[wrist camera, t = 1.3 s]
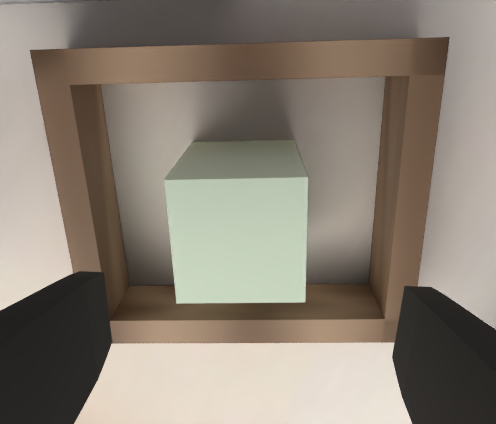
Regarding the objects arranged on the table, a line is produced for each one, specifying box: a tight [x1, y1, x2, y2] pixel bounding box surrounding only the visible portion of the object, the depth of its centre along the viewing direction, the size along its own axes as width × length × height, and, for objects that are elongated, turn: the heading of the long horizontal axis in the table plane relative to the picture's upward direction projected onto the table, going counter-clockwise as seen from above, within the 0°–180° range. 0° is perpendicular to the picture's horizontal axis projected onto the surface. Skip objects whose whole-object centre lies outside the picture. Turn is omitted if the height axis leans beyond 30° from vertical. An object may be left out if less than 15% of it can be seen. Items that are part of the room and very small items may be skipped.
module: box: [164, 140, 308, 304], centre depth 17 cm, size 4×4×6 cm
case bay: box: [30, 37, 450, 343], centre depth 18 cm, size 14×12×3 cm
